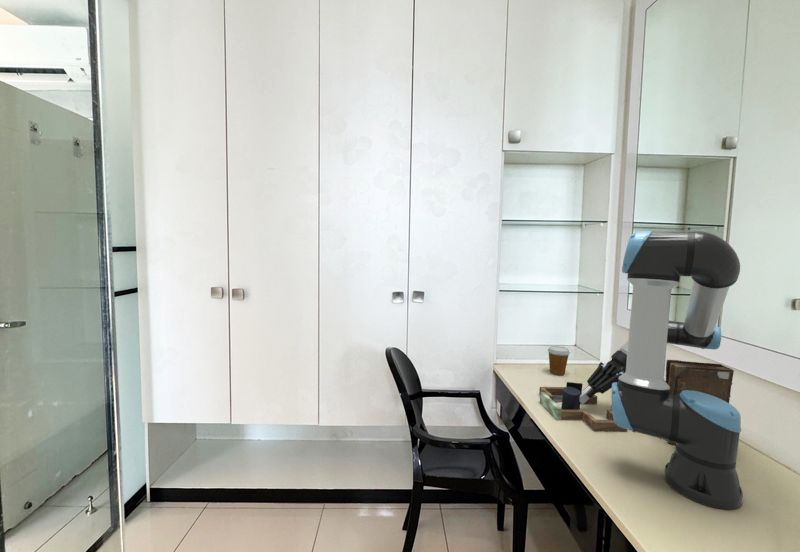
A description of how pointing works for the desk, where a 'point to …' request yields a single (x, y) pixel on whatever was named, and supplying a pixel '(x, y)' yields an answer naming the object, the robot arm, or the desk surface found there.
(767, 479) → the desk surface
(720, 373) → the book
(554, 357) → the disposable coffee cup
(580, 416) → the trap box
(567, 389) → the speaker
